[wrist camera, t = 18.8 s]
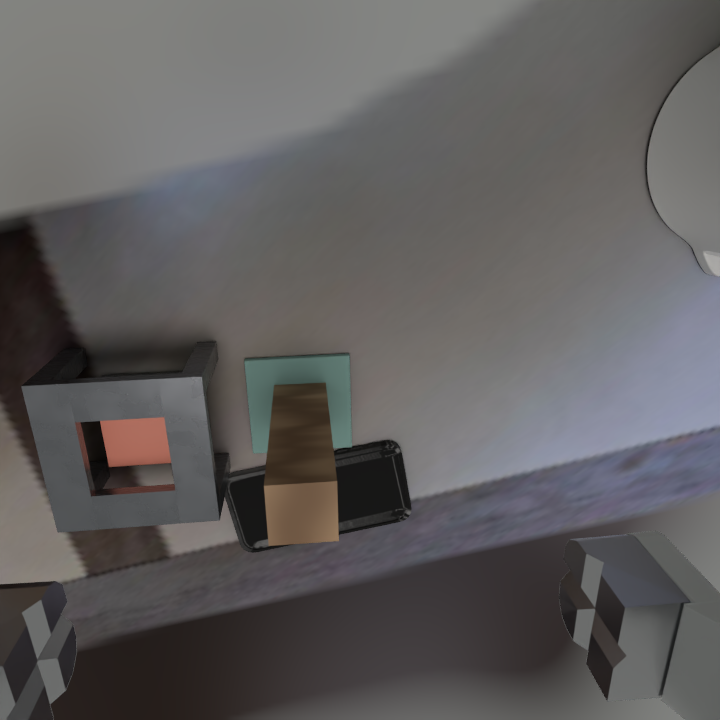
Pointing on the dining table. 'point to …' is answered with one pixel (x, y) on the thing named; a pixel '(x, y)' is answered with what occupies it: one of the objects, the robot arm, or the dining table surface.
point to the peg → (300, 467)
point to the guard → (119, 402)
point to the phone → (354, 488)
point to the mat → (299, 371)
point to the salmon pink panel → (136, 441)
